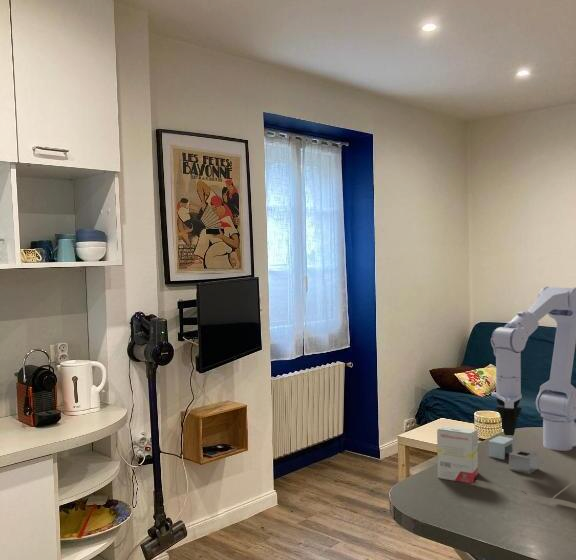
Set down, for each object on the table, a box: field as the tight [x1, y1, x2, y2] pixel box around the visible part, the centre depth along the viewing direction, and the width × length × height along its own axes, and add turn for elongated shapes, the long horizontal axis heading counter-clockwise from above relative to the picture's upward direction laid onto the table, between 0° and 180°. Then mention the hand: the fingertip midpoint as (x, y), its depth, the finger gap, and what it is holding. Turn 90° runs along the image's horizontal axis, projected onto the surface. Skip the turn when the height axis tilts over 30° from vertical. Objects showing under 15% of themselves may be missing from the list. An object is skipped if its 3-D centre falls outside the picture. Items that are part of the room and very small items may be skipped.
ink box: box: [436, 424, 479, 485], centre depth 144 cm, size 9×5×12 cm, turn 57°
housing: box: [488, 435, 515, 460], centre depth 157 cm, size 6×4×4 cm, turn 136°
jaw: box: [508, 449, 539, 475], centre depth 146 cm, size 5×5×4 cm
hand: (508, 430), depth 151 cm, fingers open, 7 cm apart
